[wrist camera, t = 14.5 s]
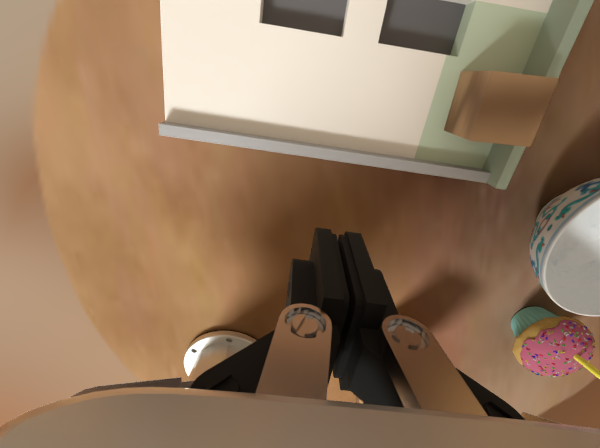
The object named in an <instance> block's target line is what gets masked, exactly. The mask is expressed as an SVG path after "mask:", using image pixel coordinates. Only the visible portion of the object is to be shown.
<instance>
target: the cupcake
mask: <svg viewBox="0 0 600 448" xmlns="http://www.w3.org/2000/svg"><path fill="white" fill-rule="evenodd" d="M511 327H512V330H513V332H514V335H515V338H516V340H515V343H514V345H513V349H512V350H513V353H514V355H515V357H516V359H517V360H518V361H519V363H521V364H522V365H523V366H524V367H526V368H527V369H528V370H530V371H532V372H534V373H535V374H536V373H537V374H536V375H539V374H540V375H541V376H543V375H546V376H552V377H554V376H555V377H556V376H564V375H565V374H566V375H568V374H569V373H571V372H574V371H577V370H580V369H581V367H583V366H584V367H585V368H586V369H588V370H589V371H590V372H591V373H593V374H594V375H595V376H596V377H598V378H599V379H600V371H599V370H598V369H596V368H595V367H594V366H592V365H591V364H590V363H589V362H588V361H589V360H590V359H591V356H593V355H592V353H593V351H594V348H595V346H594V345H595V344H594V342H595V340H594V337H593V334H592V333H591V332H590V331H589V329H588V328H587V327H586V326H585V325H584V324H583V323H582V322H580V321H579V320H576V319H572V318H569V317H567V316H561V317H559V316H557V315H555V314H553V313H551V312H549V311H547V310H545V309H544V308H541V307H536V306H533V307H527V308H524V309H522V310H520V311H519V312H517V313H516V314H515V315H514V316H513V318H512V320H511Z"/></svg>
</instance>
